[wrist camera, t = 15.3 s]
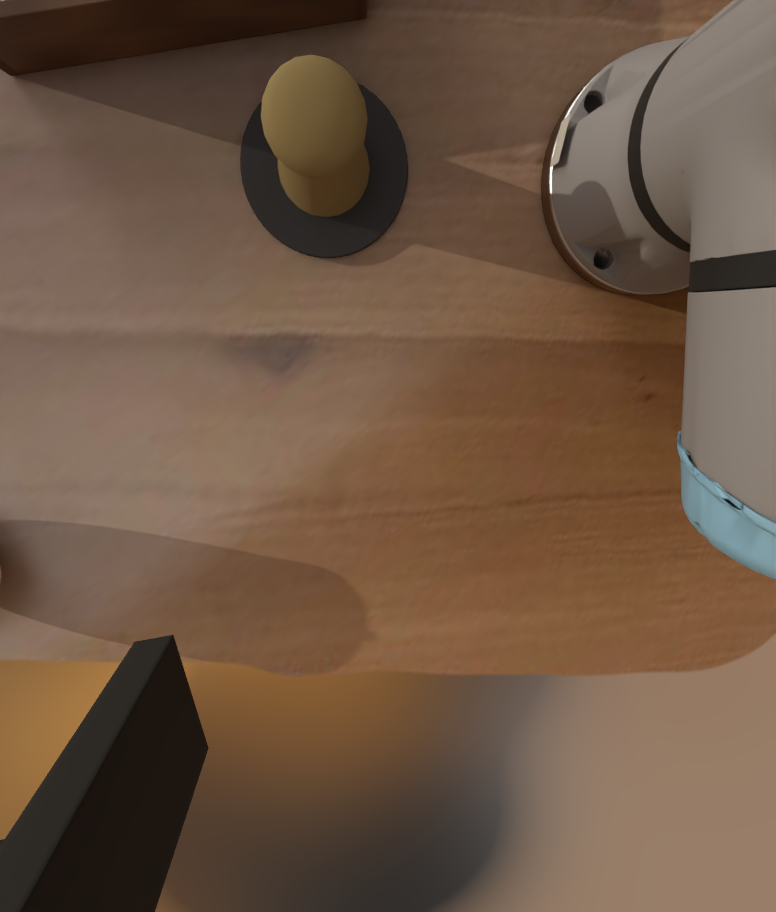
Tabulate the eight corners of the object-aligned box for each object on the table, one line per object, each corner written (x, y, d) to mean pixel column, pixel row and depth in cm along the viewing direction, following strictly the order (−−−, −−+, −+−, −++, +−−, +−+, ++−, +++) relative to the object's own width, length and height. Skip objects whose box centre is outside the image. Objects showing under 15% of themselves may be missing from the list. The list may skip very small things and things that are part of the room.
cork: (381, 136, 36) (394, 61, 25) (354, 230, 37) (355, 196, 26) (291, 101, 35) (265, 8, 24) (267, 198, 36) (231, 151, 25)
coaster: (392, 64, 35) (393, 60, 34) (418, 243, 38) (419, 242, 37) (224, 91, 35) (221, 88, 34) (262, 270, 38) (261, 269, 37)
